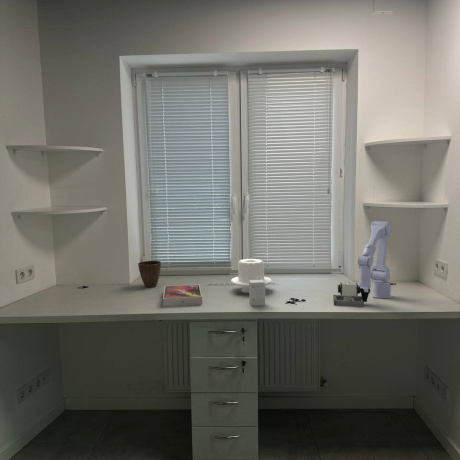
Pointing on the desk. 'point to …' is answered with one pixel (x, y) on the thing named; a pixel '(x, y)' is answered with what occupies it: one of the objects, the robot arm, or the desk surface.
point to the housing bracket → (340, 301)
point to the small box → (256, 292)
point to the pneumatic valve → (348, 290)
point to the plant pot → (150, 272)
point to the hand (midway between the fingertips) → (364, 301)
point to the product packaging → (182, 295)
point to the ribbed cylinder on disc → (250, 273)
